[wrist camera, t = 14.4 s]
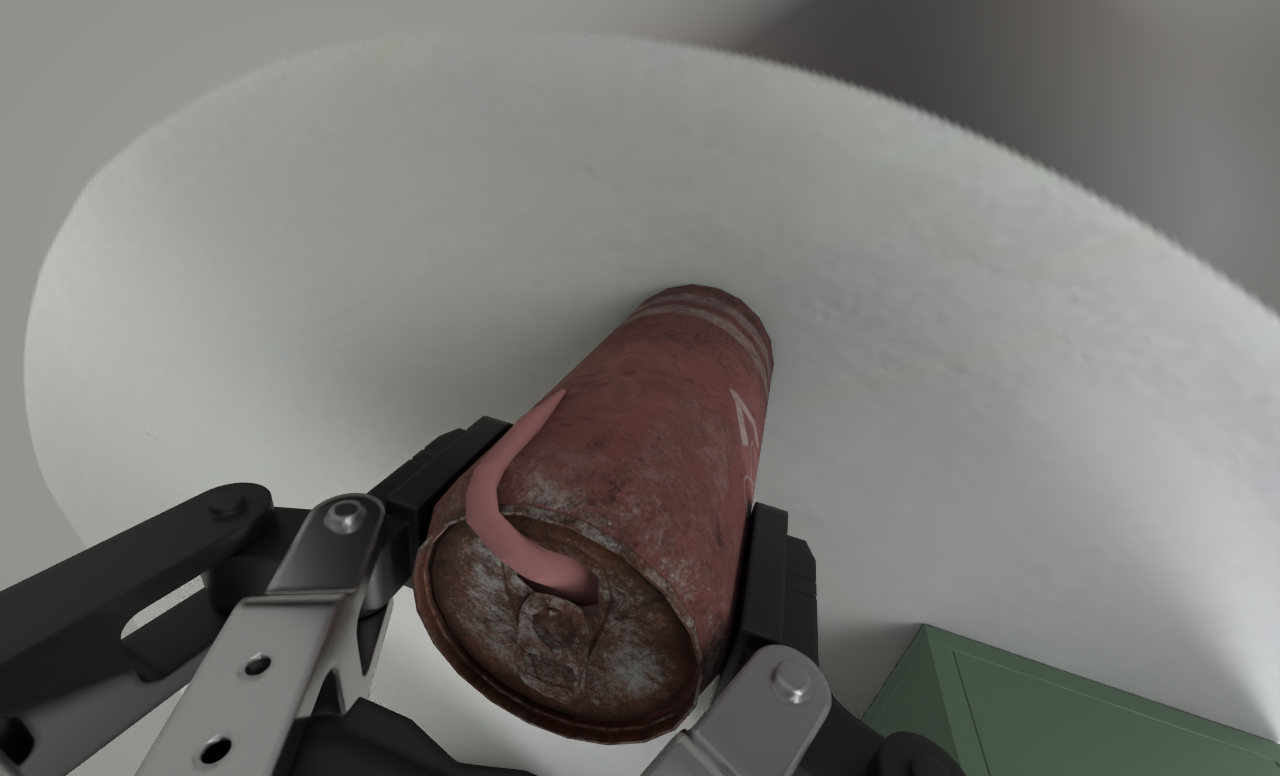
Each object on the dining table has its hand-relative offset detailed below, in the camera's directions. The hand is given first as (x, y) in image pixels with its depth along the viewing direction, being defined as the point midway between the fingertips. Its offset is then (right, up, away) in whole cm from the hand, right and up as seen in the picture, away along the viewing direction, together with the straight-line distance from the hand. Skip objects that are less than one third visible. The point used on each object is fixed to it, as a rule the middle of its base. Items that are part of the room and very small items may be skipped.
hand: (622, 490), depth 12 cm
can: (+3, +4, +9) cm, 10 cm away
